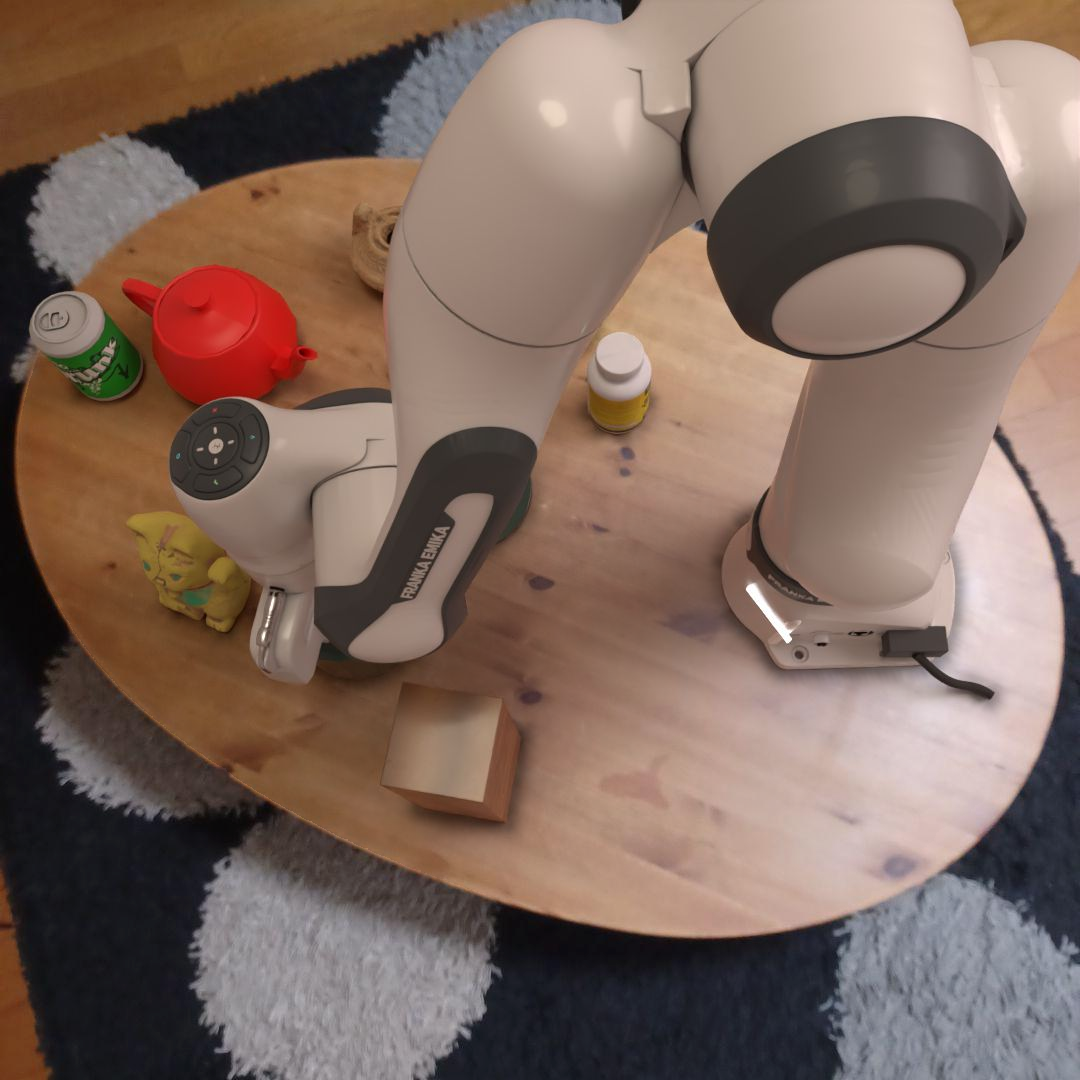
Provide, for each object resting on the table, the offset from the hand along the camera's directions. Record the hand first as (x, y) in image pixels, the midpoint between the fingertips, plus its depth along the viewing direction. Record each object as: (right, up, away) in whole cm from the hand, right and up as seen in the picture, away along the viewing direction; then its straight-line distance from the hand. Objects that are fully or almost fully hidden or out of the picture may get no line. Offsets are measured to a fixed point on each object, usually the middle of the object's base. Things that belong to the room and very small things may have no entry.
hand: (334, 586), depth 91 cm
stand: (+12, -18, +5) cm, 22 cm away
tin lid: (+11, +9, +14) cm, 20 cm away
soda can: (-29, +22, +22) cm, 43 cm away
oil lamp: (+5, +35, +24) cm, 43 cm away
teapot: (-15, +24, +22) cm, 36 cm away
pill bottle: (+27, +18, +17) cm, 37 cm away
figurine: (-14, -1, +13) cm, 19 cm away
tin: (+1, -4, +11) cm, 11 cm away
